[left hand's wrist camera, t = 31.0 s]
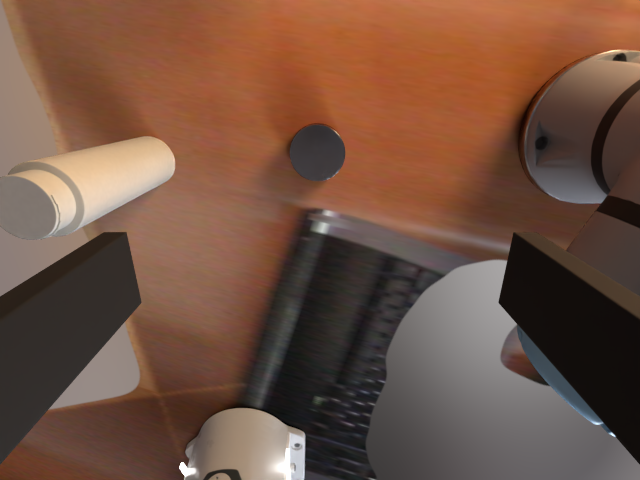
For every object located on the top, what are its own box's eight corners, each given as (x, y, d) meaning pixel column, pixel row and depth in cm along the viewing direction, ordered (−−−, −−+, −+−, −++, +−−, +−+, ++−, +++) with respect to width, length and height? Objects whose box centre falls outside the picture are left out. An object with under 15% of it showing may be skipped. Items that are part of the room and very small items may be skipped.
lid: (346, 125, 38) (347, 126, 36) (341, 178, 41) (342, 183, 38) (292, 121, 38) (290, 122, 36) (290, 174, 40) (288, 179, 38)
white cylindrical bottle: (139, 189, 41) (8, 256, 24) (118, 143, 39) (-42, 179, 22) (182, 177, 40) (81, 236, 23) (163, 130, 39) (36, 156, 21)
